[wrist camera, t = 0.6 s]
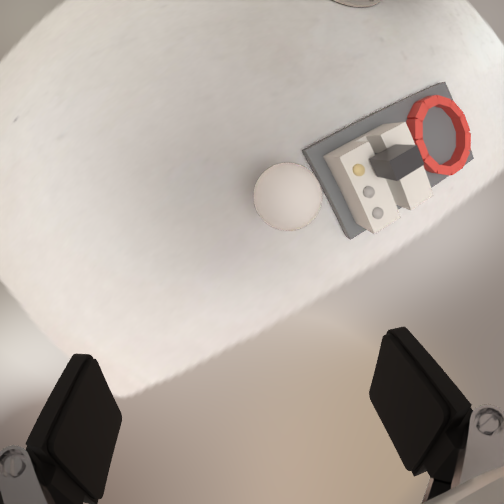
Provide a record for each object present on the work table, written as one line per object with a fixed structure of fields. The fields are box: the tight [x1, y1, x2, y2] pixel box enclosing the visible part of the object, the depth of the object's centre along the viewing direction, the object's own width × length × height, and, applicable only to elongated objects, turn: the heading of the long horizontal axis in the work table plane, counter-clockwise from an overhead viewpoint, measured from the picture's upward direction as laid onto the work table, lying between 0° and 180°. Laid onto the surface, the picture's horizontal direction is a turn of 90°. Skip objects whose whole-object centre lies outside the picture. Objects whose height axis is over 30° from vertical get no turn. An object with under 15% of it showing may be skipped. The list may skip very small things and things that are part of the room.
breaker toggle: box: [369, 144, 424, 181], centre depth 27 cm, size 4×2×7 cm, turn 120°
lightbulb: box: [254, 163, 322, 231], centre depth 29 cm, size 6×6×11 cm
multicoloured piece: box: [302, 82, 474, 240], centre depth 30 cm, size 24×12×7 cm, turn 120°
